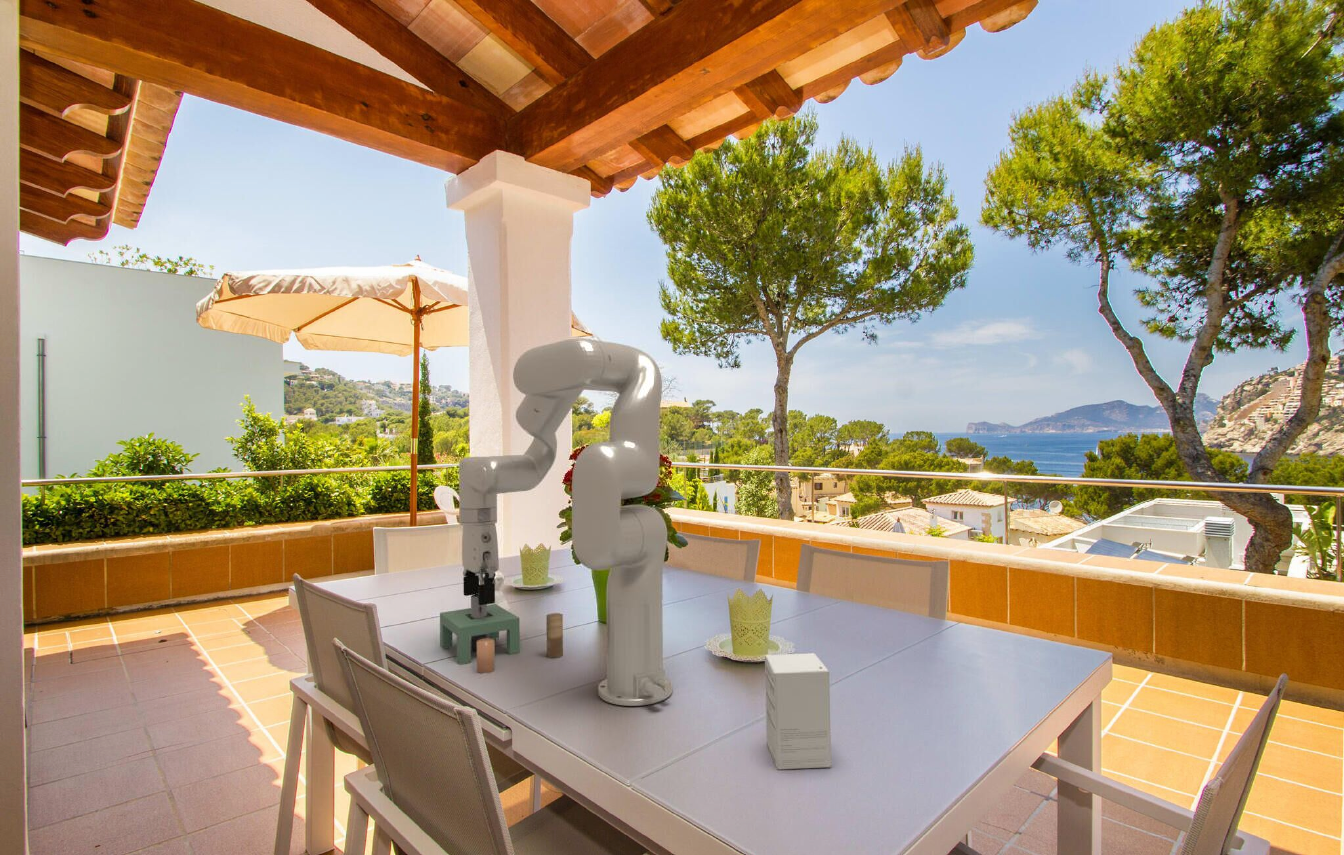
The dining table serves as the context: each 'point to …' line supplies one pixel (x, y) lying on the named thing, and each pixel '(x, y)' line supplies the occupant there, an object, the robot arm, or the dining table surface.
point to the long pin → (476, 613)
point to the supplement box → (798, 711)
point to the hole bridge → (478, 629)
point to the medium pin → (554, 635)
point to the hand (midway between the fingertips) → (478, 599)
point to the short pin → (485, 655)
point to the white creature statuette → (500, 592)
